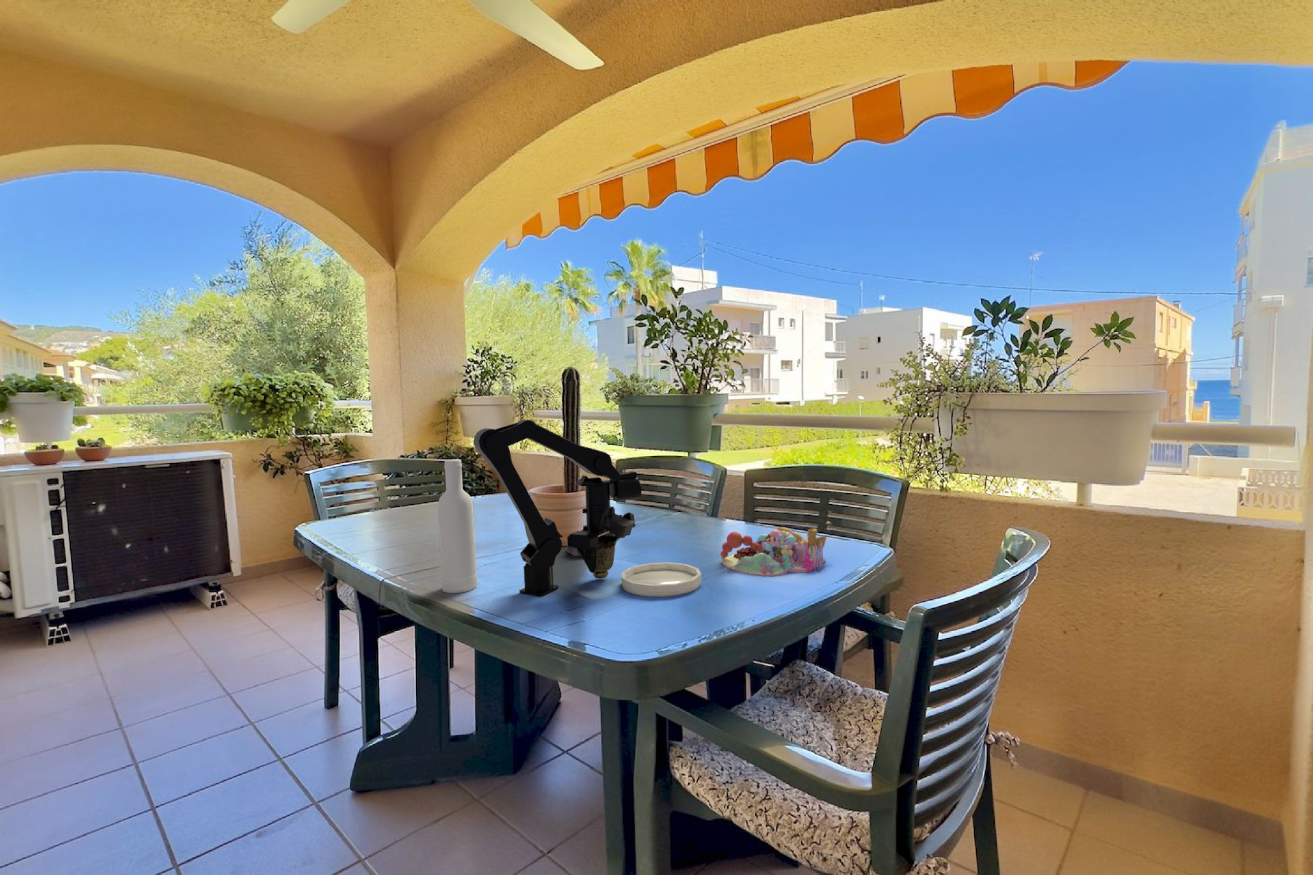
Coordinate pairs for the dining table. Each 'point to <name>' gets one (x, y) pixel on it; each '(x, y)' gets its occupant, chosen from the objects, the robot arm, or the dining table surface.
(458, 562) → the bottle
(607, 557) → the cup
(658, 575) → the dish
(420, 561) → the dining table surface
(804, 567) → the pastel sphere sculpture
